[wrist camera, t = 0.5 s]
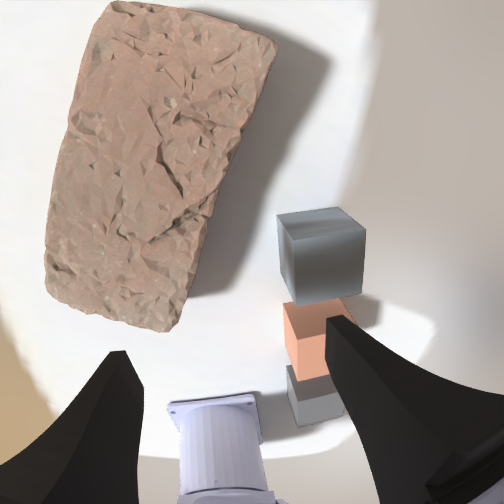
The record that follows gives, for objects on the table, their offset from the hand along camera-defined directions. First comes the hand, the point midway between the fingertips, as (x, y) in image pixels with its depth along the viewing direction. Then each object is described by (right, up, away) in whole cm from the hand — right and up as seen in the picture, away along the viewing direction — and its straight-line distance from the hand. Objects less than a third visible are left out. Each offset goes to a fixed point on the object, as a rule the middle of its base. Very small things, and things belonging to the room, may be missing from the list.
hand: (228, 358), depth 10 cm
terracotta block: (+5, -1, +12) cm, 13 cm away
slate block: (+4, +4, +9) cm, 11 cm away
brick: (-5, +9, +6) cm, 12 cm away
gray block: (+6, -7, +15) cm, 18 cm away
